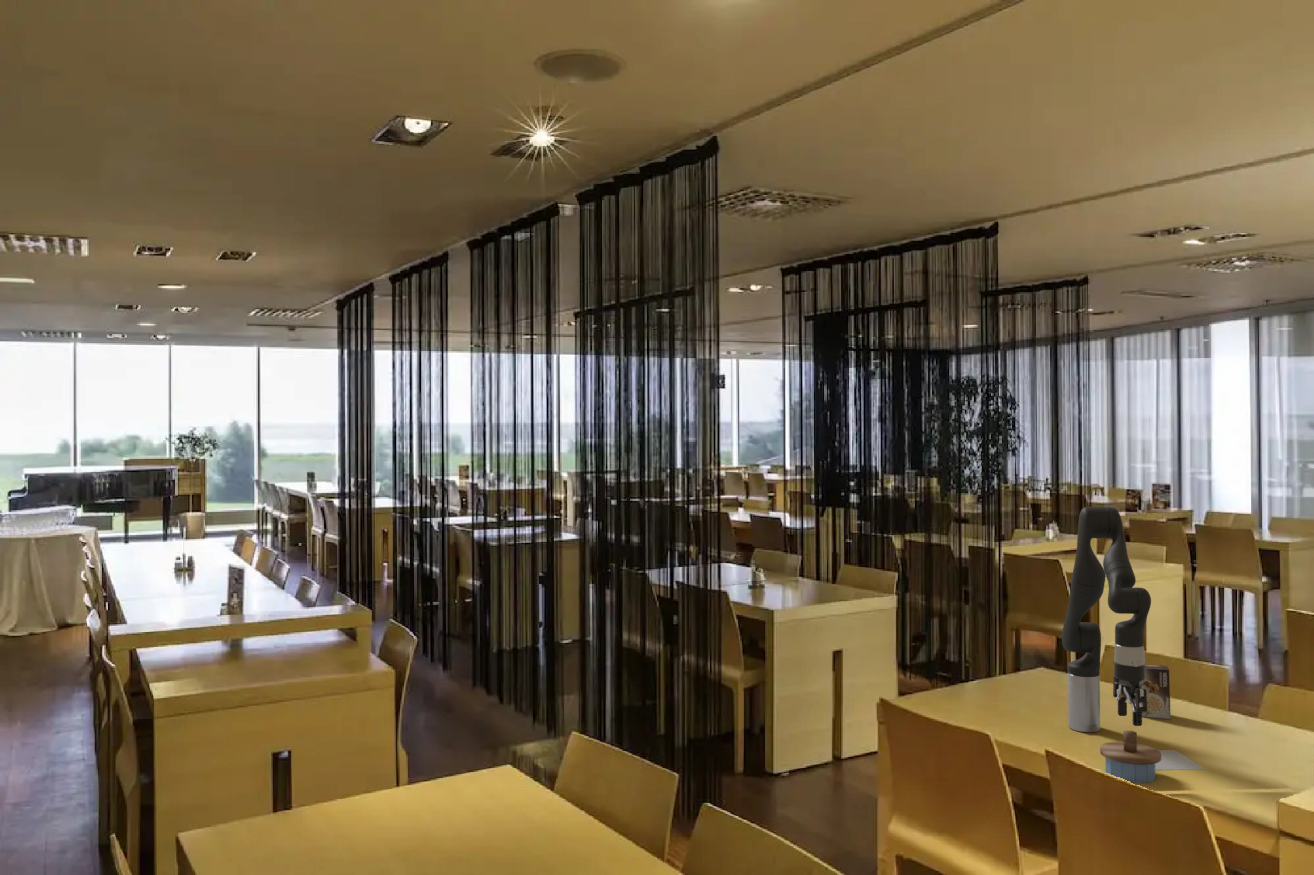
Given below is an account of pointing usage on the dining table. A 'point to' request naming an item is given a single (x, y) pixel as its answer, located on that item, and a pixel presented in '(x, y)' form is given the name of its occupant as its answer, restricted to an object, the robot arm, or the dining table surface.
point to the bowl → (1131, 771)
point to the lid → (1130, 751)
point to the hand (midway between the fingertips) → (1129, 720)
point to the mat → (1175, 761)
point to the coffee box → (1157, 691)
